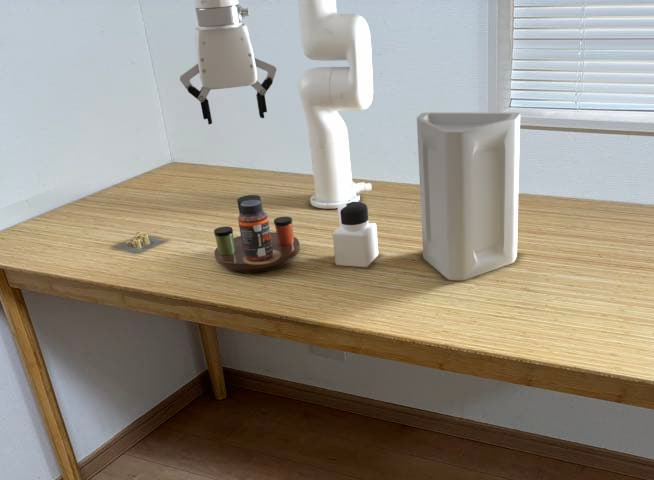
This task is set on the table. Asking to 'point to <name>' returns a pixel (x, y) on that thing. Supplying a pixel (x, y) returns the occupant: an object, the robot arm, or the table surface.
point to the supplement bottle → (255, 231)
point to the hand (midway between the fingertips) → (236, 119)
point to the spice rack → (232, 248)
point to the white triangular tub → (469, 191)
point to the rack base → (260, 268)
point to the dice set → (139, 243)
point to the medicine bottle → (355, 236)
